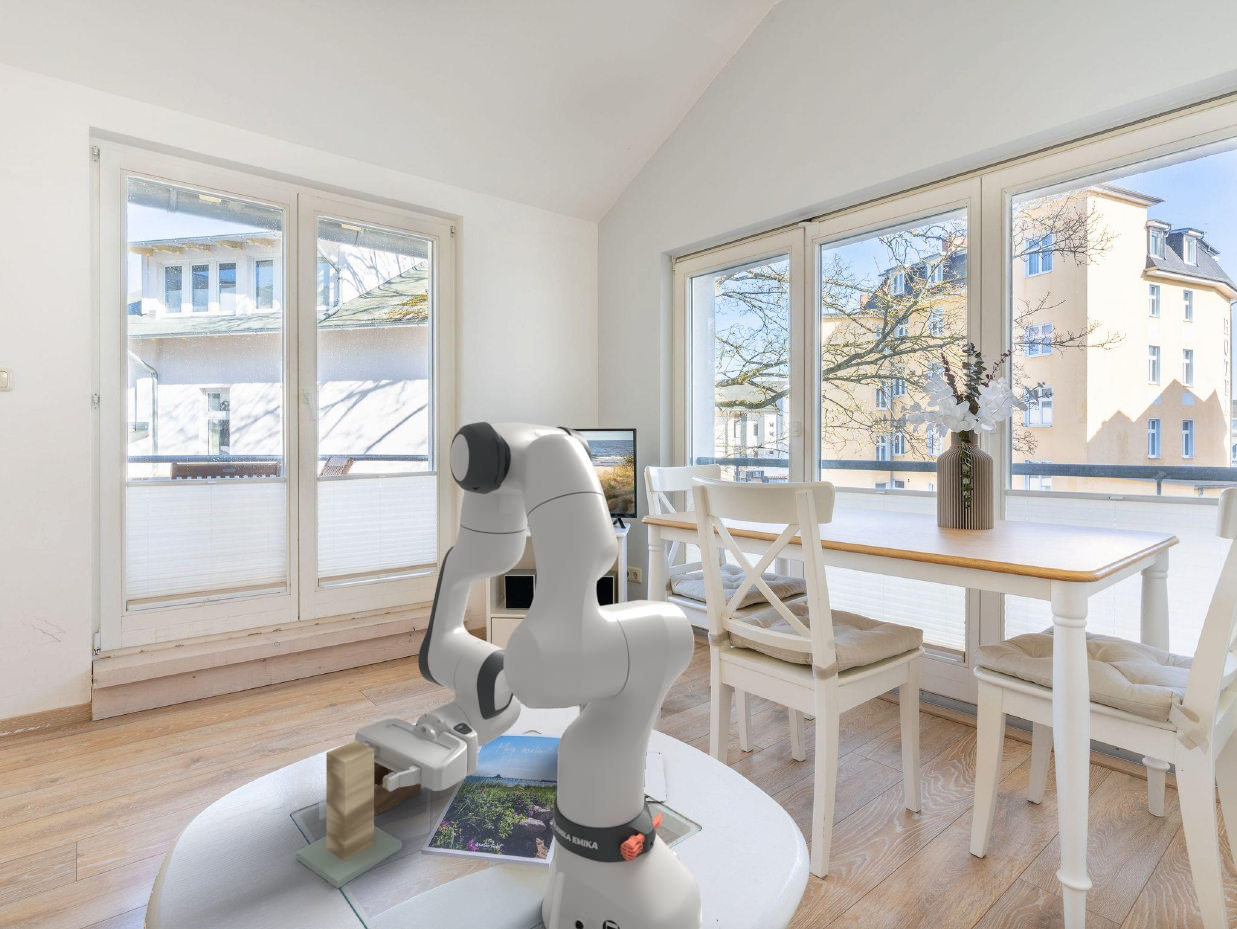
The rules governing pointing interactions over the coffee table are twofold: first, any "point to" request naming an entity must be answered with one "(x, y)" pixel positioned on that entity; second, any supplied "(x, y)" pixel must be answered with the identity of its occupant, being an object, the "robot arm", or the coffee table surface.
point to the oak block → (349, 799)
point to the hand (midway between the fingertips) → (364, 774)
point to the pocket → (389, 798)
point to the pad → (342, 870)
